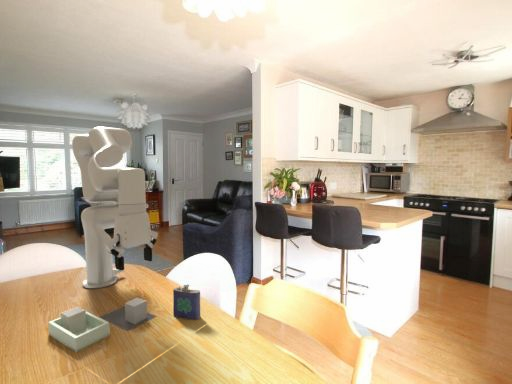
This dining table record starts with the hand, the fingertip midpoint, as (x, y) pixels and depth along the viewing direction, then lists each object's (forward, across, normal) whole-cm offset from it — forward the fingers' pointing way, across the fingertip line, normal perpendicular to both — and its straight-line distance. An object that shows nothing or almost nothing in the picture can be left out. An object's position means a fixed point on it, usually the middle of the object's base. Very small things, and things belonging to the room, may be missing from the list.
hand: (134, 264), depth 89 cm
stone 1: (+17, +14, -9) cm, 24 cm away
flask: (+18, -10, +12) cm, 24 cm away
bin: (+18, +14, -6) cm, 23 cm away
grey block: (+17, 0, 0) cm, 17 cm away
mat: (+18, 0, -4) cm, 18 cm away
